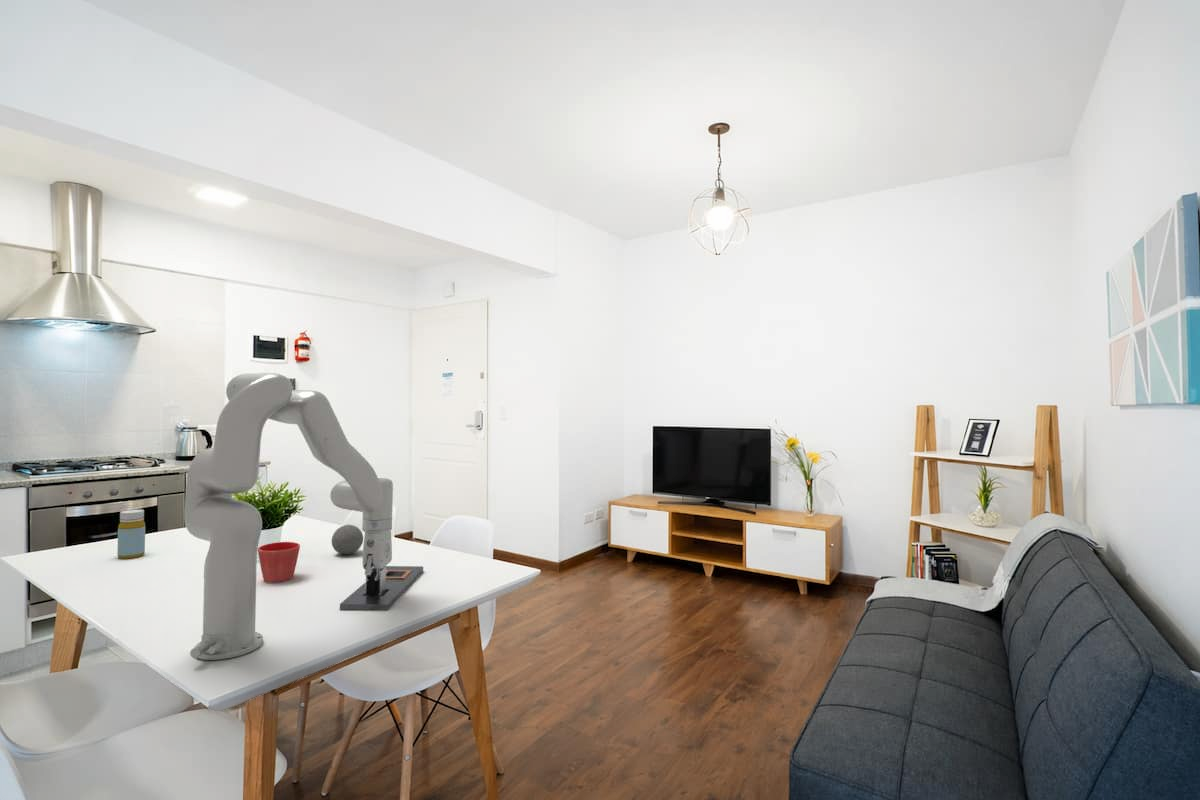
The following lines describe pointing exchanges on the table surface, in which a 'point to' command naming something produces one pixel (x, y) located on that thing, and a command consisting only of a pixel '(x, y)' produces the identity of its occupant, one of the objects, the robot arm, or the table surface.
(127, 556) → the bottle
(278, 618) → the table surface
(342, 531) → the decorative ball
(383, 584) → the steel rectangular block
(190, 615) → the table surface
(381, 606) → the grey board with holes
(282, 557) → the flower pot
